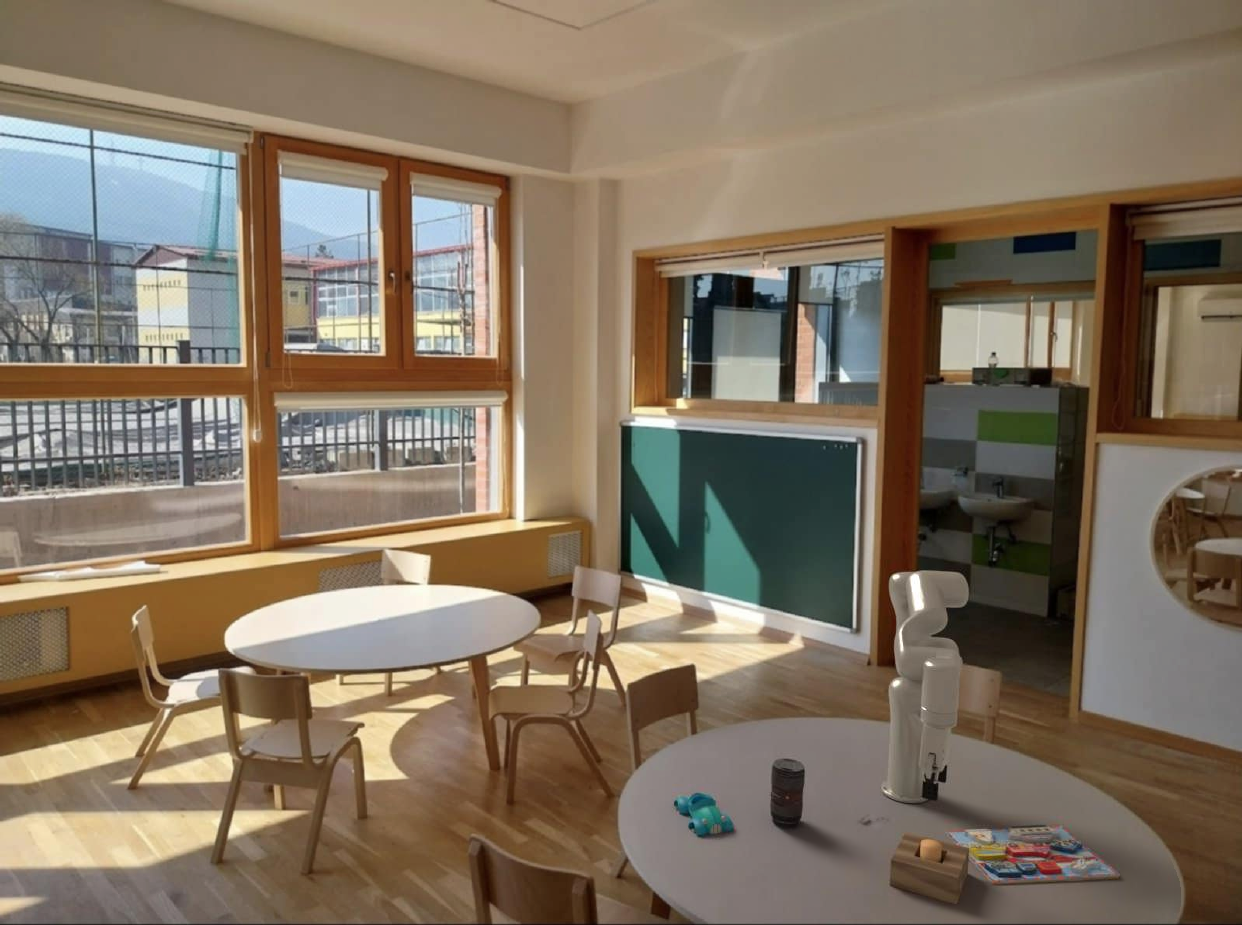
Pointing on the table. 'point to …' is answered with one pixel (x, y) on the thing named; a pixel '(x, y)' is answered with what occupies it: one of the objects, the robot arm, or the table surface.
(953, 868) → the socket block
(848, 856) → the table surface
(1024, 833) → the puzzle board
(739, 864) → the table surface
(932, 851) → the peg
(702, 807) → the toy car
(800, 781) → the camera lens
